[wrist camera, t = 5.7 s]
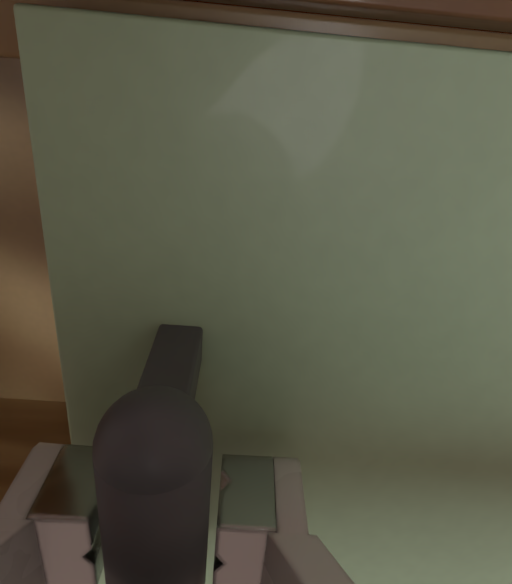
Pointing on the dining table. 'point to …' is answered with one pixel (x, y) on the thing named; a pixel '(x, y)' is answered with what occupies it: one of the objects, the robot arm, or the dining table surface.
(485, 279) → the slide lid
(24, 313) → the box
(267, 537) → the robot arm
